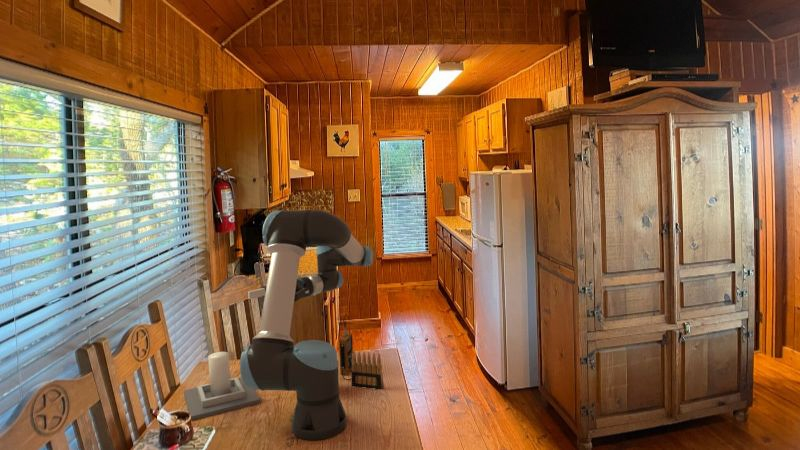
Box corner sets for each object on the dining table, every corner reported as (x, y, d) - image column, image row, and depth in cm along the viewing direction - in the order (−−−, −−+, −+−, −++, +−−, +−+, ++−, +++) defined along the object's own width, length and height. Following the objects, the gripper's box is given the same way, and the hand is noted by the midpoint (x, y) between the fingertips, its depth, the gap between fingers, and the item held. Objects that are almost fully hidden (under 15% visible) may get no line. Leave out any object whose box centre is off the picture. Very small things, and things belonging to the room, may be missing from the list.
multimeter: (364, 381, 160) (362, 324, 158) (336, 379, 162) (334, 323, 160) (375, 364, 174) (373, 311, 172) (349, 363, 176) (347, 310, 174)
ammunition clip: (383, 387, 155) (382, 352, 154) (381, 390, 153) (380, 354, 152) (353, 383, 158) (352, 349, 157) (351, 386, 156) (350, 351, 155)
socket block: (260, 402, 147) (259, 392, 146) (190, 420, 137) (189, 410, 137) (246, 379, 164) (246, 370, 164) (184, 393, 154) (183, 384, 154)
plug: (232, 395, 149) (230, 356, 148) (212, 400, 146) (209, 360, 145) (229, 388, 154) (226, 350, 153) (209, 393, 152) (207, 354, 150)
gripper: (330, 300, 172) (281, 314, 156) (288, 291, 188) (240, 303, 172) (329, 280, 171) (280, 292, 155) (287, 272, 188) (239, 283, 172)
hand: (259, 298), depth 164 cm, fingers open, 13 cm apart
